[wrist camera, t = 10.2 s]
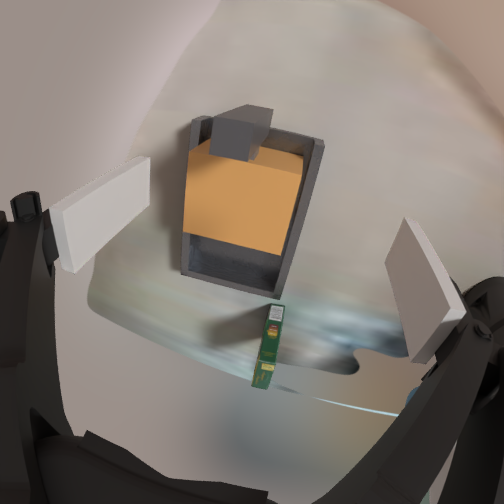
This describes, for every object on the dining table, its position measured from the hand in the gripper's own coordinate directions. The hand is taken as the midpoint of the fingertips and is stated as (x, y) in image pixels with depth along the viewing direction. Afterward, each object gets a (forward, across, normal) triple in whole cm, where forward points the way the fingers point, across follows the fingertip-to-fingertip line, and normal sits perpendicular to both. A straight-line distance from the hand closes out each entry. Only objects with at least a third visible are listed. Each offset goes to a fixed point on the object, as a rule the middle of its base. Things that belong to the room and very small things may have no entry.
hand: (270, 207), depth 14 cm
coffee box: (+26, -4, +33) cm, 42 cm away
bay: (+25, +5, +12) cm, 28 cm away
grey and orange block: (+24, +5, +5) cm, 25 cm away
